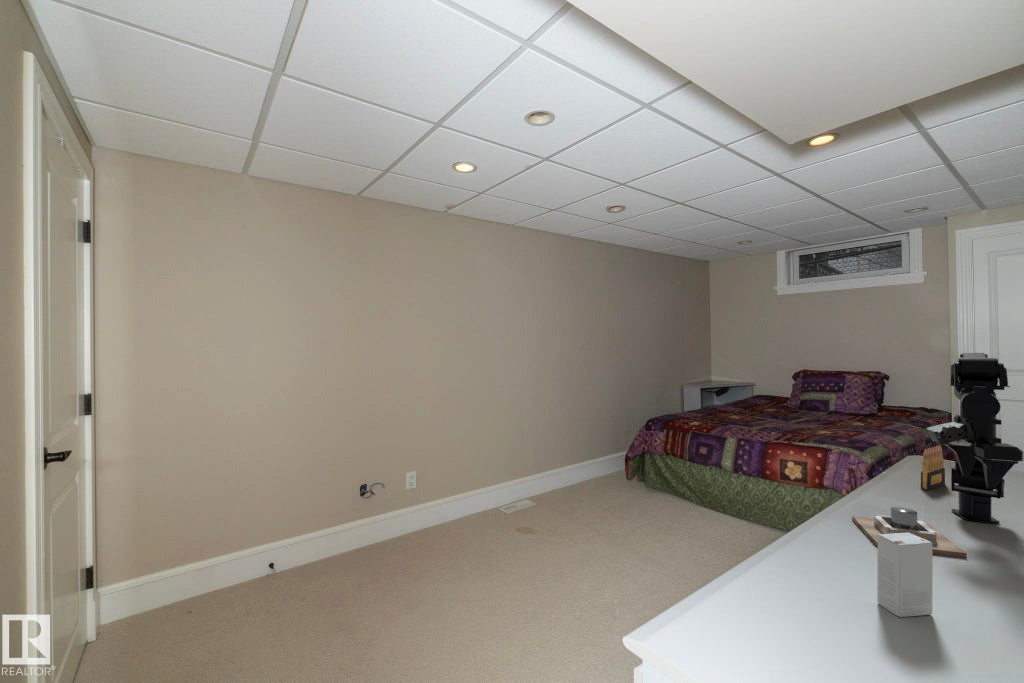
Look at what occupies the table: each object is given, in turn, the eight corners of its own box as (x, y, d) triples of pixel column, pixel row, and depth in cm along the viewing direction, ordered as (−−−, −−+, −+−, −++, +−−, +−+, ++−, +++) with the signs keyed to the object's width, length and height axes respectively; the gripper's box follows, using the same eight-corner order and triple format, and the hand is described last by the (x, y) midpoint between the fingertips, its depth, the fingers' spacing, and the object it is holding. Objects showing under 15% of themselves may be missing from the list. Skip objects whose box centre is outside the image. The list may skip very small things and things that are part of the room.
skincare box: (907, 600, 77) (907, 530, 77) (934, 616, 73) (934, 542, 73) (875, 603, 77) (874, 532, 77) (900, 619, 72) (900, 544, 72)
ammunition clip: (928, 490, 131) (928, 449, 131) (920, 488, 133) (920, 448, 133) (945, 484, 136) (945, 445, 136) (937, 483, 138) (937, 443, 137)
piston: (887, 527, 104) (887, 505, 104) (912, 529, 103) (911, 508, 103) (895, 535, 100) (895, 513, 100) (921, 538, 98) (921, 515, 98)
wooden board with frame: (852, 519, 111) (852, 507, 111) (929, 528, 106) (929, 515, 106) (876, 546, 97) (876, 532, 97) (966, 558, 92) (966, 543, 92)
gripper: (913, 405, 114) (913, 467, 114) (955, 418, 96) (955, 491, 96) (970, 407, 110) (970, 471, 110) (1025, 421, 92) (1025, 497, 92)
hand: (977, 481), depth 102 cm, fingers open, 9 cm apart
